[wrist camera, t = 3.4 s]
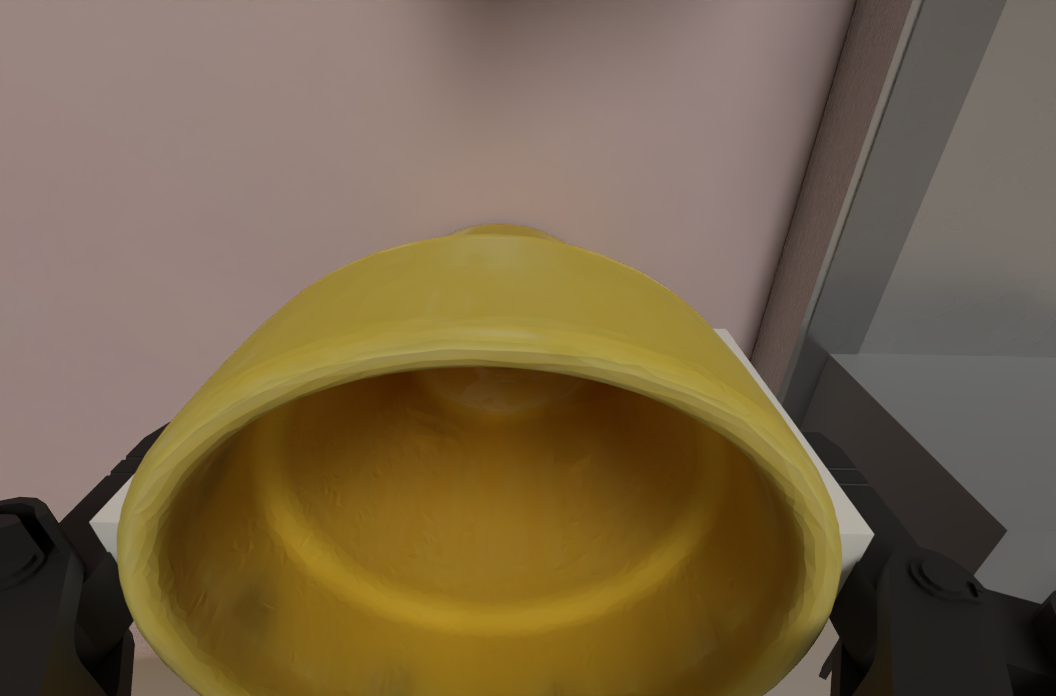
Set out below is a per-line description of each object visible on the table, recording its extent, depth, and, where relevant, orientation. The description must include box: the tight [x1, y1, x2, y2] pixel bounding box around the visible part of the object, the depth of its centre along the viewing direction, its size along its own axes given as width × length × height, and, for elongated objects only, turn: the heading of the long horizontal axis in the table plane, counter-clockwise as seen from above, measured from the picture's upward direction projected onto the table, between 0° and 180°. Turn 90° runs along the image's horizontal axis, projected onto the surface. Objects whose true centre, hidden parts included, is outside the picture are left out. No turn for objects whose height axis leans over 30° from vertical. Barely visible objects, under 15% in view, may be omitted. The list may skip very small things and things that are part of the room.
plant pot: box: [117, 224, 842, 696], centre depth 12 cm, size 10×10×10 cm
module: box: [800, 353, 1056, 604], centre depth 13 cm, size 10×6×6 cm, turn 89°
